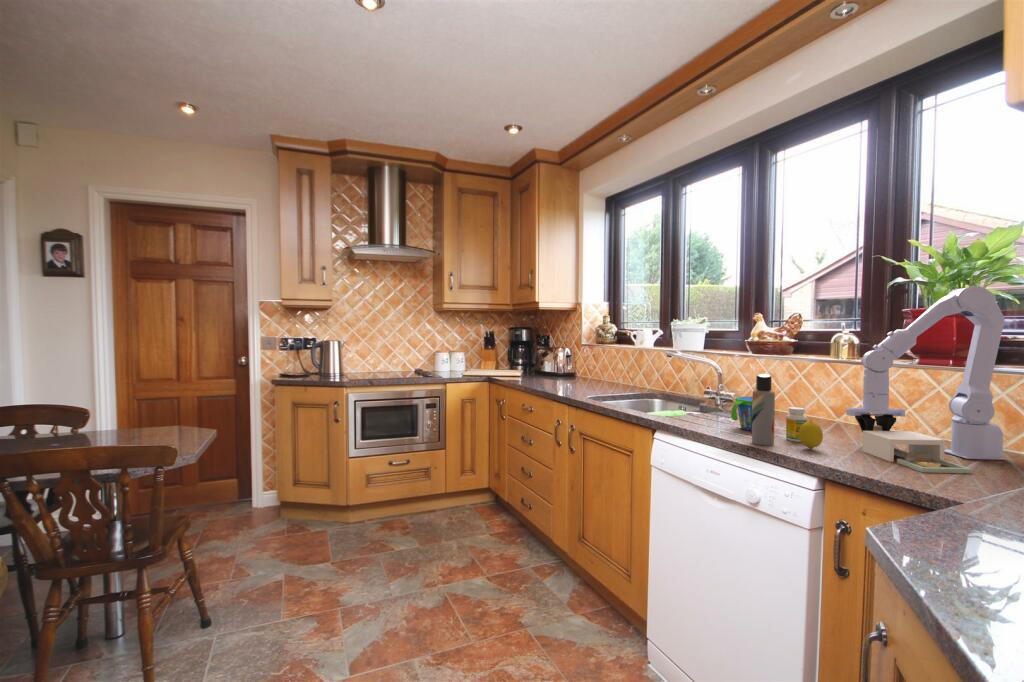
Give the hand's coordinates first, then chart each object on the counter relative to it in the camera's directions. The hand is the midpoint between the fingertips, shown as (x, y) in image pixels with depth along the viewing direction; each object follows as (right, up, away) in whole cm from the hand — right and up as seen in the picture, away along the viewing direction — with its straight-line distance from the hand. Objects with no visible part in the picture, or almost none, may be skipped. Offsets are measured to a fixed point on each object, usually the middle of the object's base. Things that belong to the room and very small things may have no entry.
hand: (874, 441), depth 132 cm
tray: (-1, -2, -19) cm, 19 cm away
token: (-1, -2, -18) cm, 18 cm away
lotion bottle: (-29, -2, +4) cm, 30 cm away
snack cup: (-22, -1, +24) cm, 32 cm away
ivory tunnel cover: (-1, -2, -10) cm, 10 cm away
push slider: (0, -2, -7) cm, 7 cm away
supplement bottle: (-17, -2, +8) cm, 19 cm away
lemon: (-20, -2, -3) cm, 20 cm away
